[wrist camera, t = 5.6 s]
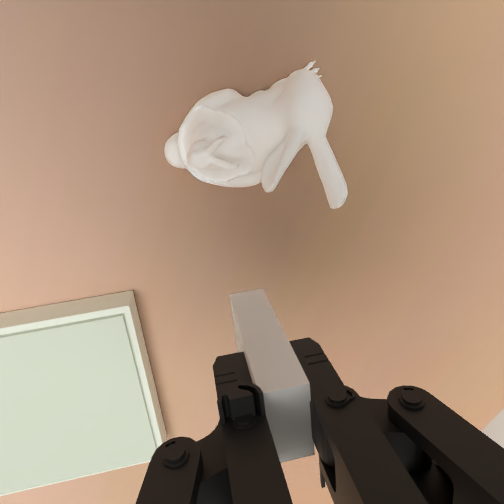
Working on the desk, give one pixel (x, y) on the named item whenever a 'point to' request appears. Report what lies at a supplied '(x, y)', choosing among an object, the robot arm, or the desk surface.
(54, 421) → the tray
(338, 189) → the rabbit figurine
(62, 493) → the desk surface
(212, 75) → the desk surface
